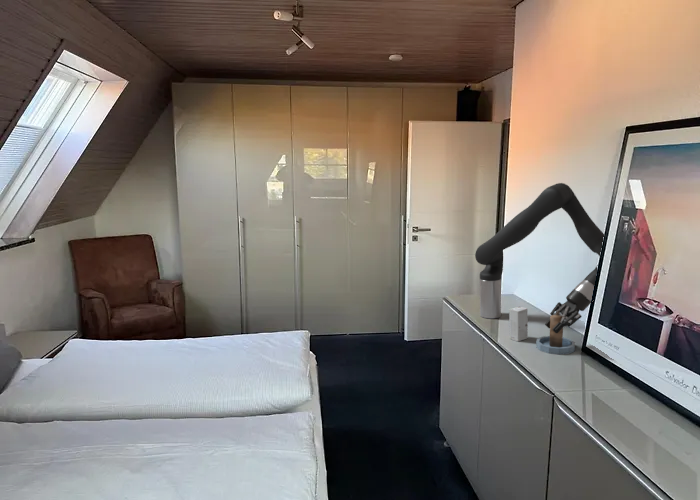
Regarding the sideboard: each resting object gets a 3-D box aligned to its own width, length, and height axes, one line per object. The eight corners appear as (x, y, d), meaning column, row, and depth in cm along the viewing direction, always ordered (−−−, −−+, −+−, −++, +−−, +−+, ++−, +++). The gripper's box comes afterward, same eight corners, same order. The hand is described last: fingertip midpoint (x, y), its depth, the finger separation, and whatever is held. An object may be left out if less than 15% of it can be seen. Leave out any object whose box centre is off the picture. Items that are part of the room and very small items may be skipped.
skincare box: (518, 341, 190) (518, 311, 188) (508, 338, 193) (508, 309, 191) (528, 338, 193) (528, 308, 191) (518, 335, 197) (518, 306, 195)
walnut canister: (547, 343, 184) (548, 315, 182) (558, 342, 184) (559, 314, 182) (553, 348, 179) (554, 319, 177) (564, 347, 180) (565, 318, 178)
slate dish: (530, 342, 188) (530, 337, 187) (563, 340, 189) (563, 334, 188) (546, 355, 175) (546, 349, 175) (581, 352, 176) (581, 346, 176)
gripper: (566, 284, 186) (535, 317, 187) (586, 293, 172) (553, 329, 173) (579, 296, 187) (548, 329, 188) (601, 307, 173) (567, 342, 174)
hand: (550, 329), depth 181 cm, fingers open, 5 cm apart
